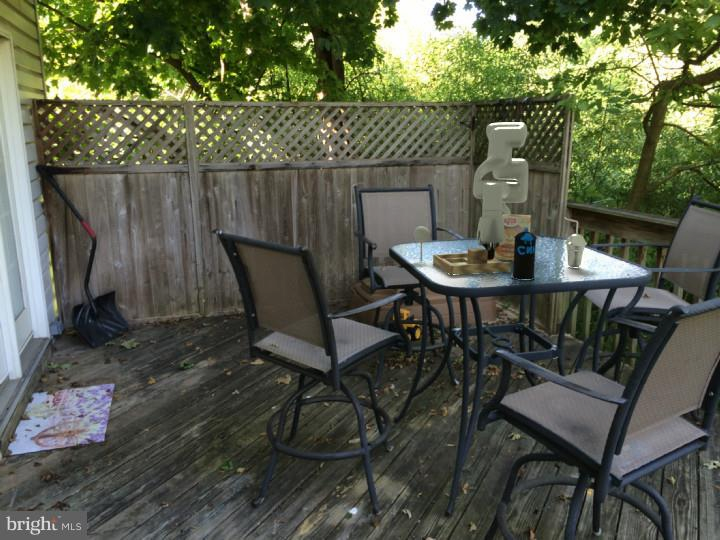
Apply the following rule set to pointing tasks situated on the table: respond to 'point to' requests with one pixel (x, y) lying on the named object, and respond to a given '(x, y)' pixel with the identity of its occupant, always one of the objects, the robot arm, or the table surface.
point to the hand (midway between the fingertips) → (490, 259)
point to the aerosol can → (524, 254)
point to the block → (477, 256)
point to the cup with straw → (575, 247)
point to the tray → (460, 265)
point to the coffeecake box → (511, 234)
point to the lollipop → (421, 235)
